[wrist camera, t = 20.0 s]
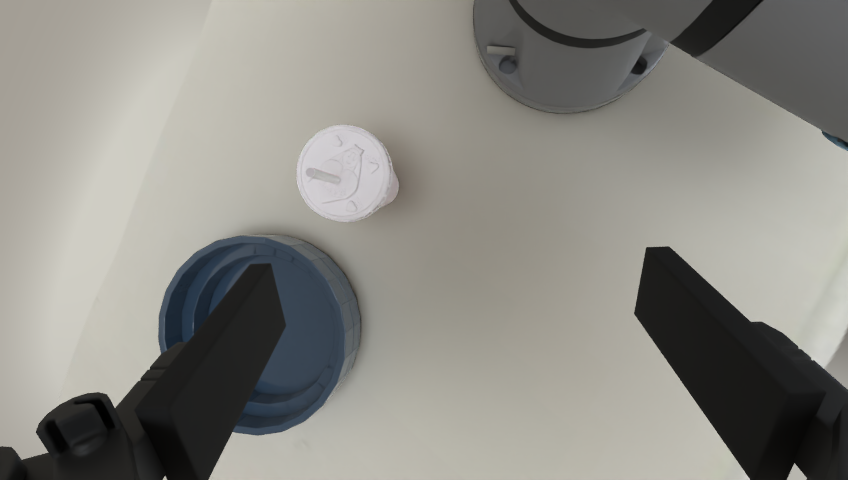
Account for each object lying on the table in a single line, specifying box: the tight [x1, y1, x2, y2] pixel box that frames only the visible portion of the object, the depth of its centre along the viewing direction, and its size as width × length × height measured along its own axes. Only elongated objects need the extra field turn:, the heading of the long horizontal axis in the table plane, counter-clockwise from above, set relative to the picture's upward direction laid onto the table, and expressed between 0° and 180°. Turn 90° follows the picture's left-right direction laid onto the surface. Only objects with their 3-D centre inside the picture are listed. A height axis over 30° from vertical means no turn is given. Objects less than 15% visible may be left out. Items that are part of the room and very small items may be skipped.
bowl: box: [158, 234, 361, 435], centre depth 37 cm, size 16×16×4 cm
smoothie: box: [296, 125, 399, 222], centre depth 31 cm, size 6×6×14 cm
